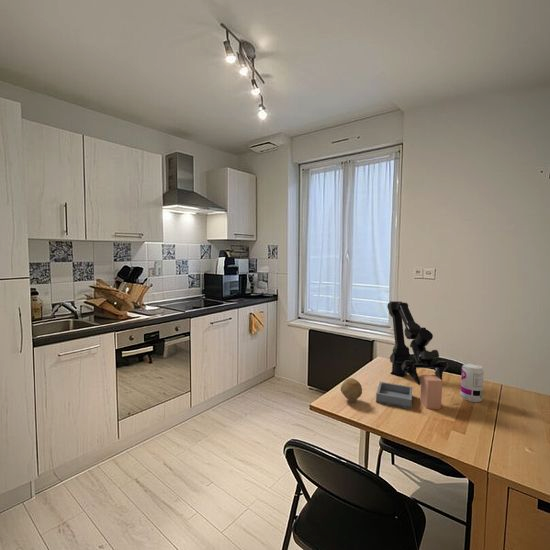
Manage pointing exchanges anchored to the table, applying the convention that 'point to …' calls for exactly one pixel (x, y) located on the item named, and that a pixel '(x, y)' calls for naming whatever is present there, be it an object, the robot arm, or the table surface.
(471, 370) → the supplement can
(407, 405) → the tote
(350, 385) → the natural sponge
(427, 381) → the carton
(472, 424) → the table surface
